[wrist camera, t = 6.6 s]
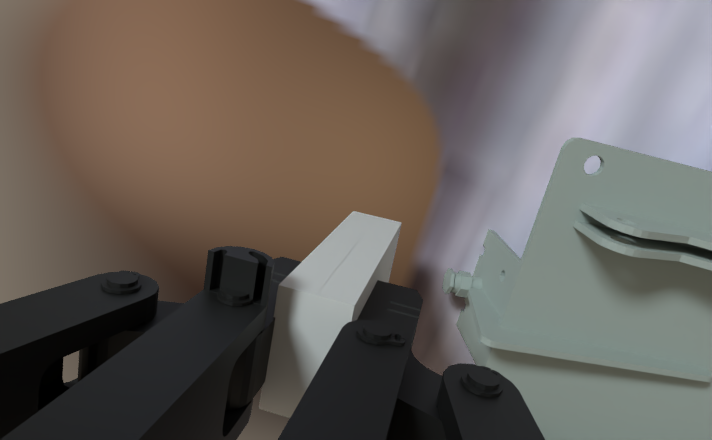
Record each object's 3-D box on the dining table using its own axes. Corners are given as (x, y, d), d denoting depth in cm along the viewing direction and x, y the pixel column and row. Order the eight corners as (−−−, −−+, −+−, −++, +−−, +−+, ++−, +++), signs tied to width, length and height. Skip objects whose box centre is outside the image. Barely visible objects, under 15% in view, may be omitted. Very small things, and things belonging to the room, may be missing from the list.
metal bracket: (406, 587, 15) (604, 45, 11) (383, 444, 21) (509, 45, 17) (839, 644, 17) (1145, 199, 13) (713, 499, 23) (900, 153, 19)
